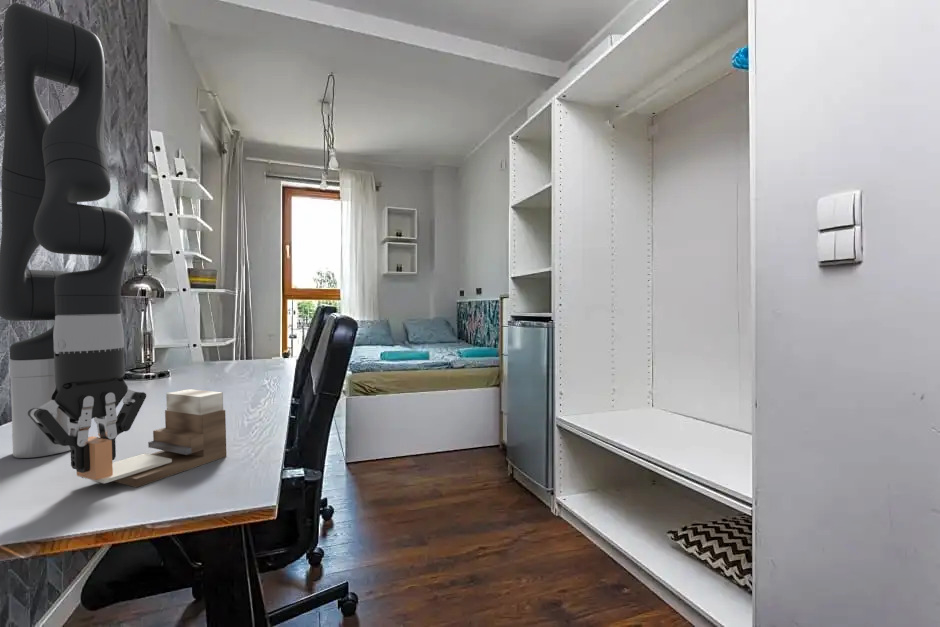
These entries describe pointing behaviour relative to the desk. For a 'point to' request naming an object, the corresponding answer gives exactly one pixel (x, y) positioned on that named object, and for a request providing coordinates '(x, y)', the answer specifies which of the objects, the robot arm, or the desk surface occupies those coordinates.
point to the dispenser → (186, 435)
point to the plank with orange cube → (109, 471)
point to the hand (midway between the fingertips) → (94, 467)
